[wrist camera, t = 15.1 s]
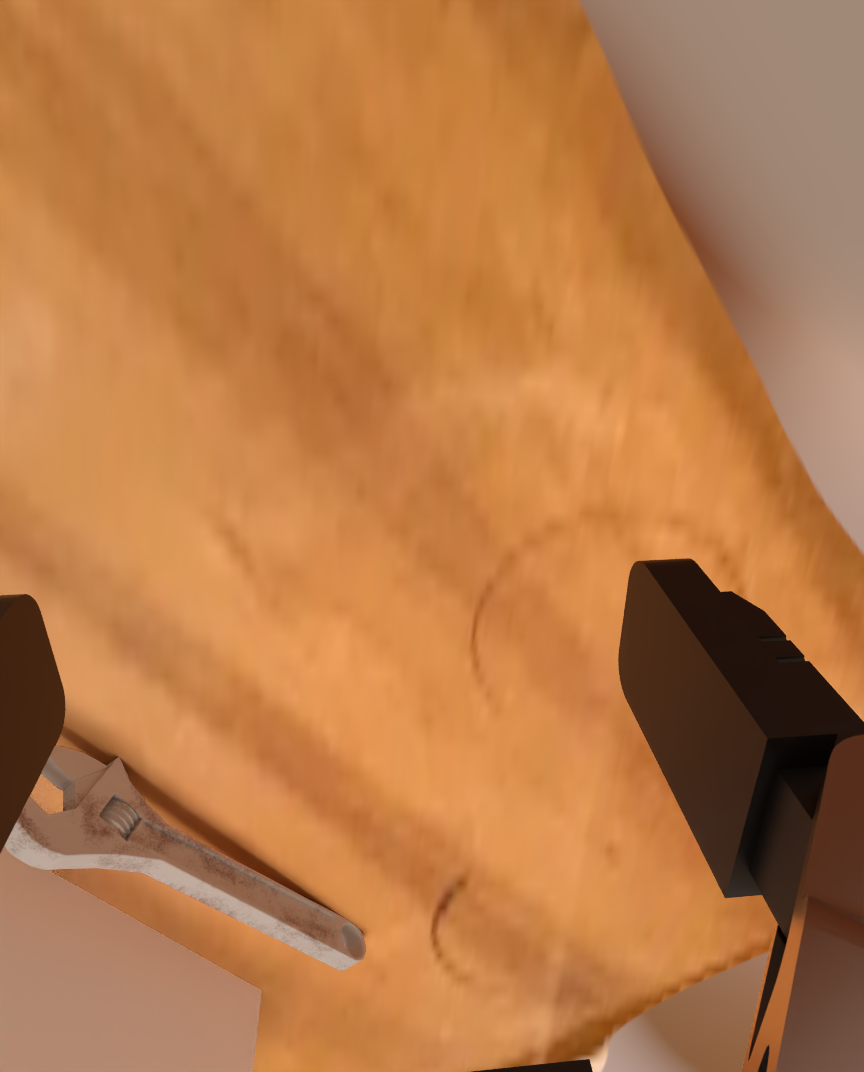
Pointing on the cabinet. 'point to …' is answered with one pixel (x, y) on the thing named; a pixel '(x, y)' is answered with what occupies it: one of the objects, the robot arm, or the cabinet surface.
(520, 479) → the cabinet surface
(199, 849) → the wrench
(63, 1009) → the cube
